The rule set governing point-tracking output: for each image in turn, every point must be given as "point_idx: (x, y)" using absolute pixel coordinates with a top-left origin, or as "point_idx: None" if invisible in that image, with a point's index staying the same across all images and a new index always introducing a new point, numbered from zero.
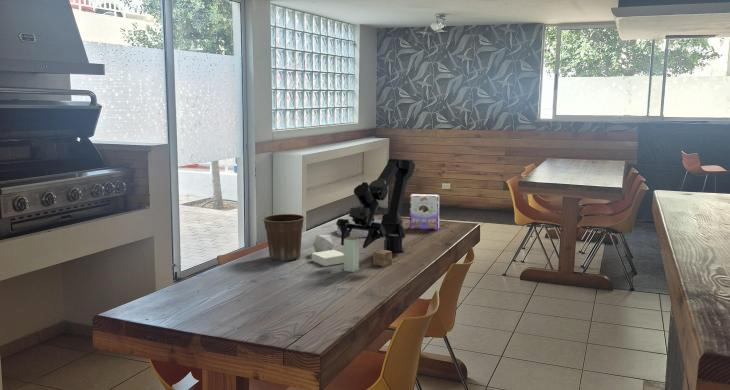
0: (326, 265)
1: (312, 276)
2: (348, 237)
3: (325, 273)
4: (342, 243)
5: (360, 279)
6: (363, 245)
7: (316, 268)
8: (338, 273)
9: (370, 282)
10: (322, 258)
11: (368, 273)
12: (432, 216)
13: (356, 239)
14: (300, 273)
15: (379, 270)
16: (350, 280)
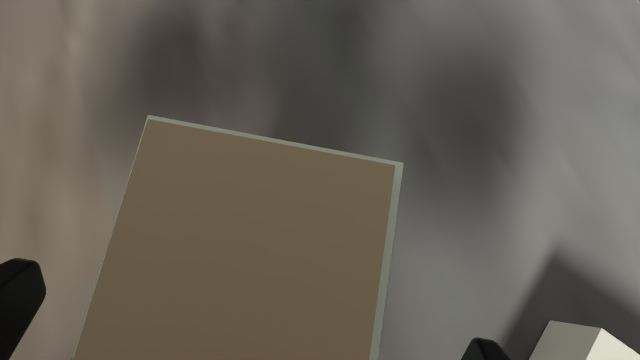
0: (543, 336)
1: (478, 21)
2: (339, 291)
3: (433, 114)
4: (475, 358)
5: (128, 48)
6: (6, 273)
7: (569, 225)
8: (342, 144)
9: (39, 2)
10: (632, 354)
11: (106, 221)
12: None
13: (103, 262)
14: (592, 62)
15: (26, 354)
16: (192, 8)
